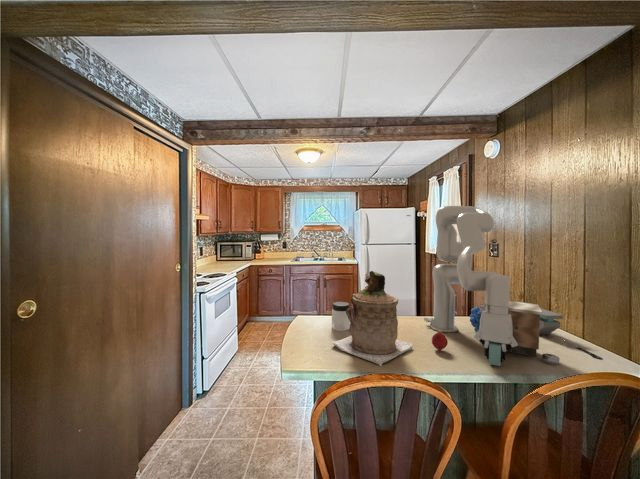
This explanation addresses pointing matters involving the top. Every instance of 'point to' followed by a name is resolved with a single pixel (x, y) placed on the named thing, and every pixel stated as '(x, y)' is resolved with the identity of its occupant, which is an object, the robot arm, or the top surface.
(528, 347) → the cabinet
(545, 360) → the grey flat rounded lump
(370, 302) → the cookie jar
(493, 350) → the sage green block
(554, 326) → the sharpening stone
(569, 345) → the cleaver
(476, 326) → the grapes
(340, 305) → the jar
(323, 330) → the top surface
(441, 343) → the onion
